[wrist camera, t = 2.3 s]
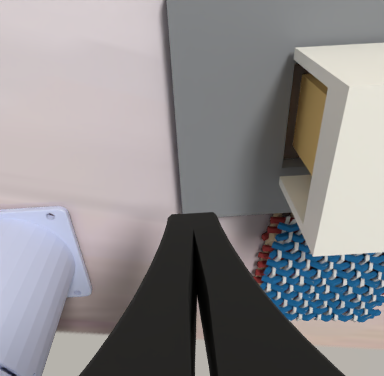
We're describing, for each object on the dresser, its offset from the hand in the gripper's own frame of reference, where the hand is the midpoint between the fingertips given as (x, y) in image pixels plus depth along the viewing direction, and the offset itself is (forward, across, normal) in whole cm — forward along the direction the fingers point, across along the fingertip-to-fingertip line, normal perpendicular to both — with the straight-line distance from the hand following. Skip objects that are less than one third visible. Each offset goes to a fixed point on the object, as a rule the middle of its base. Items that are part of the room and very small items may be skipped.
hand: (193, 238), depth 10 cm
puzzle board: (+9, -8, 0) cm, 13 cm away
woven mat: (+10, -10, +12) cm, 18 cm away
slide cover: (+8, -8, 0) cm, 11 cm away
